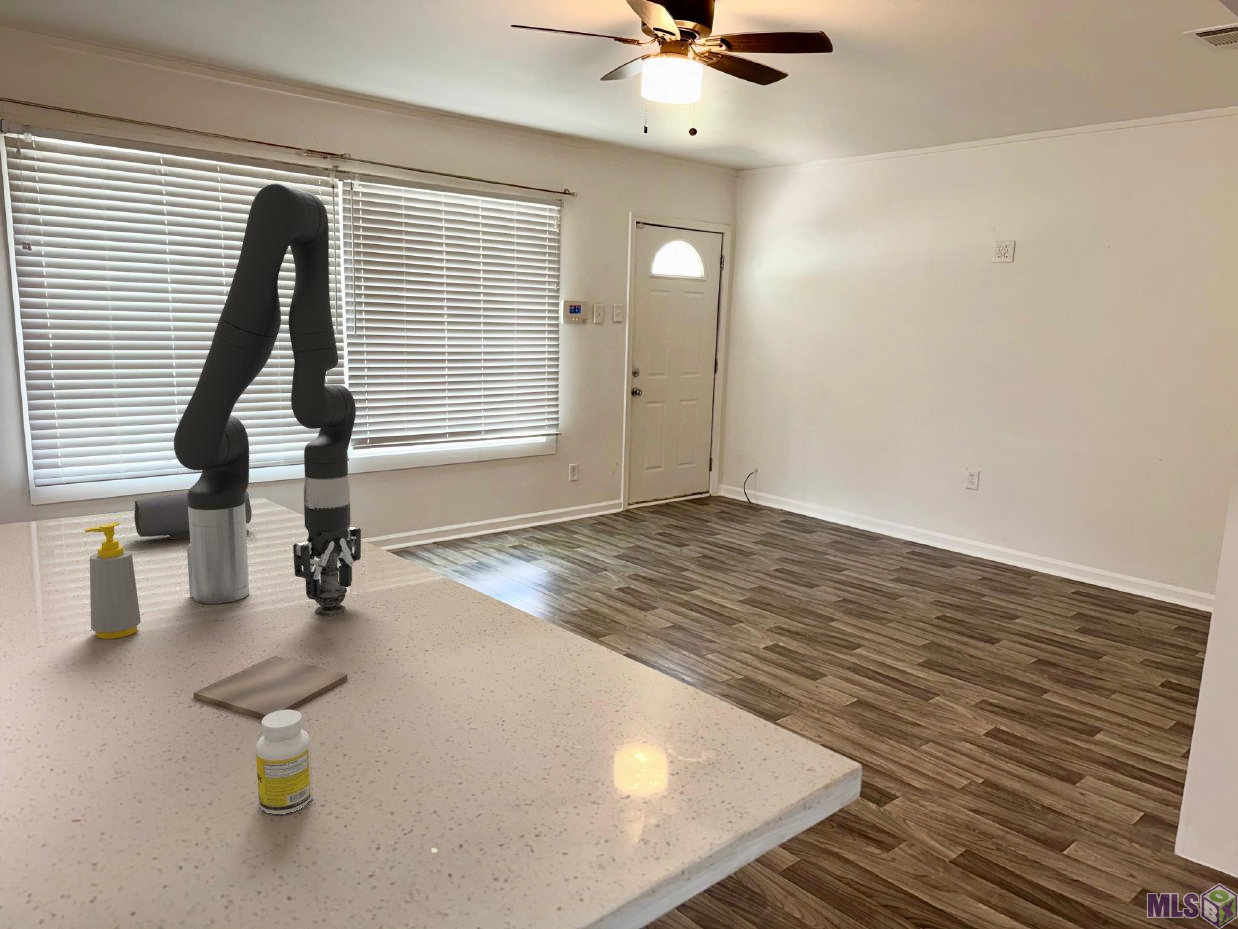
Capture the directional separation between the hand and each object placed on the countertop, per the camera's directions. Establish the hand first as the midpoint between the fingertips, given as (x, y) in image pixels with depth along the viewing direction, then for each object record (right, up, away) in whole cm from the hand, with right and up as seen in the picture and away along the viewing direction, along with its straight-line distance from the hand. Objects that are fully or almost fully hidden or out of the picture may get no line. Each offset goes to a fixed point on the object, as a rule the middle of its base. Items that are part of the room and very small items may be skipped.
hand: (329, 592), depth 143 cm
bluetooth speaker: (-47, +6, +45) cm, 65 cm away
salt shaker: (0, -3, +1) cm, 4 cm away
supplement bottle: (+15, -14, -55) cm, 59 cm away
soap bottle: (-30, -5, -12) cm, 33 cm away
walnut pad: (+3, -9, -30) cm, 31 cm away
